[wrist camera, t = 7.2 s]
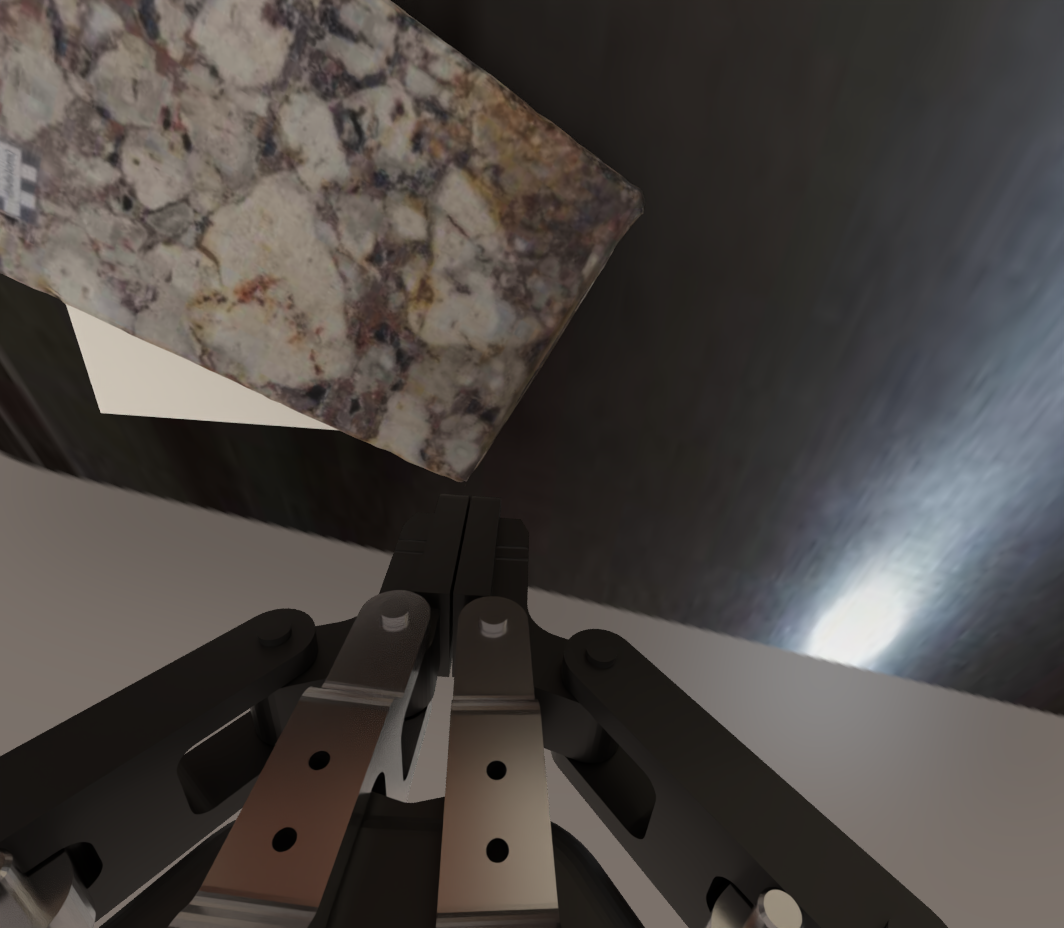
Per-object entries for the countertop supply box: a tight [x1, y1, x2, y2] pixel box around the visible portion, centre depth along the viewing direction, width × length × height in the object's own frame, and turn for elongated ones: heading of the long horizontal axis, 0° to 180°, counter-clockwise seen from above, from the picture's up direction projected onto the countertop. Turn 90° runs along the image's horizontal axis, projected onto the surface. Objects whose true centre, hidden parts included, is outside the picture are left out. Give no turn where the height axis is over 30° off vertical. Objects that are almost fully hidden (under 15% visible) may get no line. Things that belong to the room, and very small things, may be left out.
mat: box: [66, 304, 337, 430], centre depth 24 cm, size 18×11×1 cm, turn 86°
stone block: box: [0, 0, 646, 482], centre depth 20 cm, size 13×7×20 cm
